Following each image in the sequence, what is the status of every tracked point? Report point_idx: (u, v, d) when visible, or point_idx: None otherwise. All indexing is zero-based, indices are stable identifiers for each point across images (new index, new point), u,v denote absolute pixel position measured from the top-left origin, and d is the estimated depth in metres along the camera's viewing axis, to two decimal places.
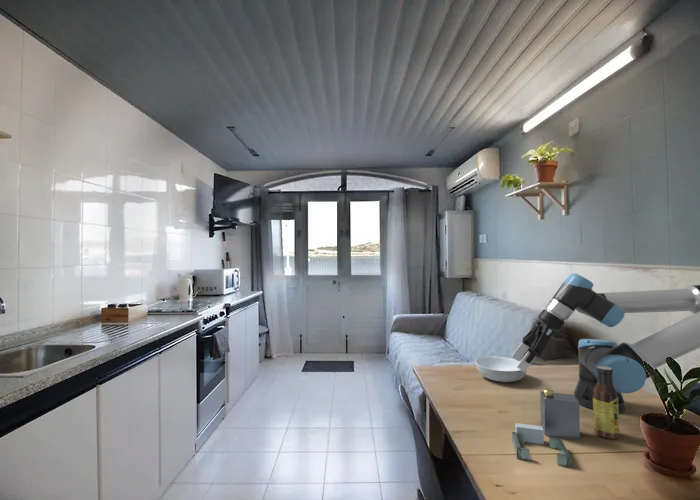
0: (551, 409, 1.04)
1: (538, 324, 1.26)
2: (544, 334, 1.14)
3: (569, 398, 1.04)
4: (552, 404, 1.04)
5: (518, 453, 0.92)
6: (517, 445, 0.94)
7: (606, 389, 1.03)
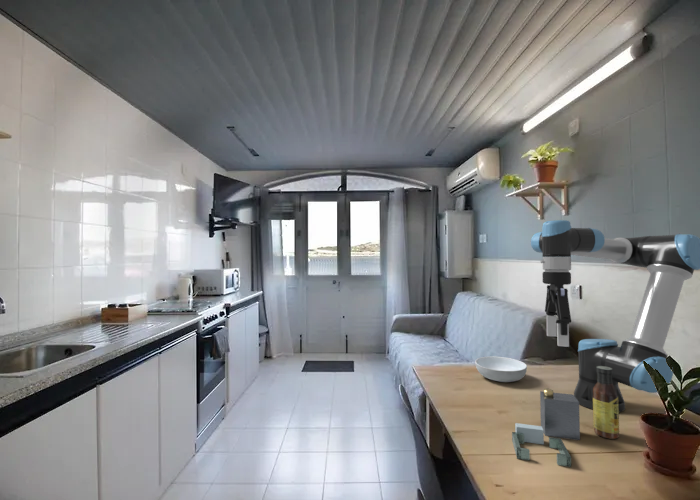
0: (551, 409, 1.04)
1: (548, 288, 1.12)
2: (560, 297, 1.00)
3: (569, 398, 1.04)
4: (552, 404, 1.04)
5: (518, 453, 0.92)
6: (517, 445, 0.94)
7: (606, 389, 1.03)
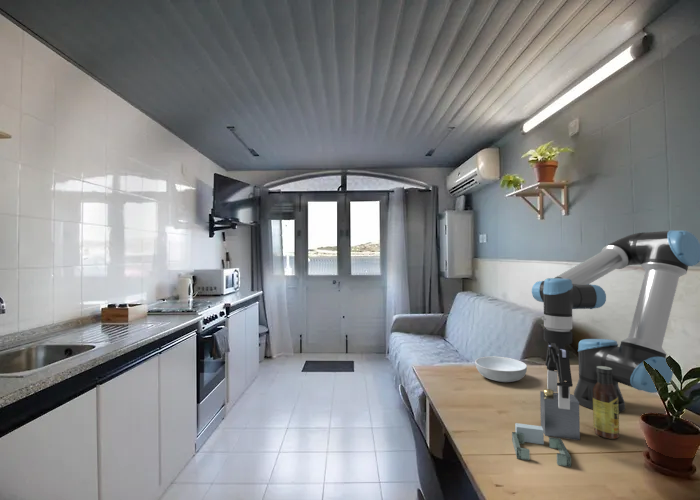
0: (551, 409, 1.04)
1: (549, 344, 1.12)
2: (561, 358, 1.00)
3: None
4: (552, 404, 1.04)
5: (518, 453, 0.92)
6: (517, 445, 0.94)
7: (606, 389, 1.03)
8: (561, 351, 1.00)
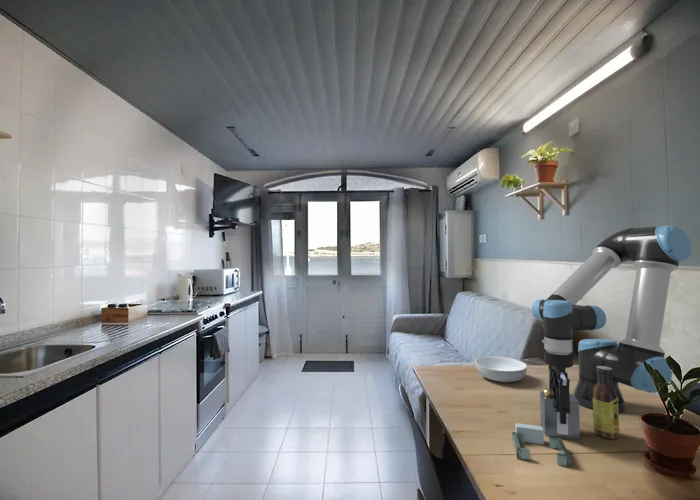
0: (551, 409, 1.04)
1: (550, 368, 1.11)
2: (561, 387, 1.00)
3: None
4: (552, 404, 1.04)
5: (518, 453, 0.92)
6: (517, 445, 0.94)
7: (606, 389, 1.03)
8: (562, 380, 1.00)
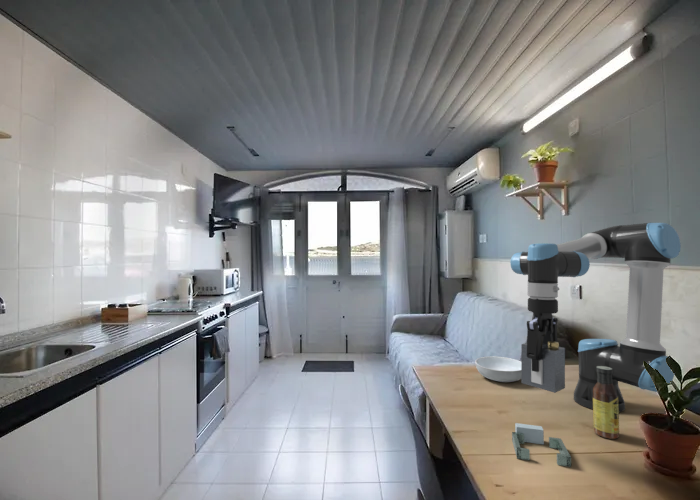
0: None
1: None
2: None
3: None
4: None
5: (518, 453, 0.92)
6: (517, 445, 0.94)
7: (606, 389, 1.03)
8: None
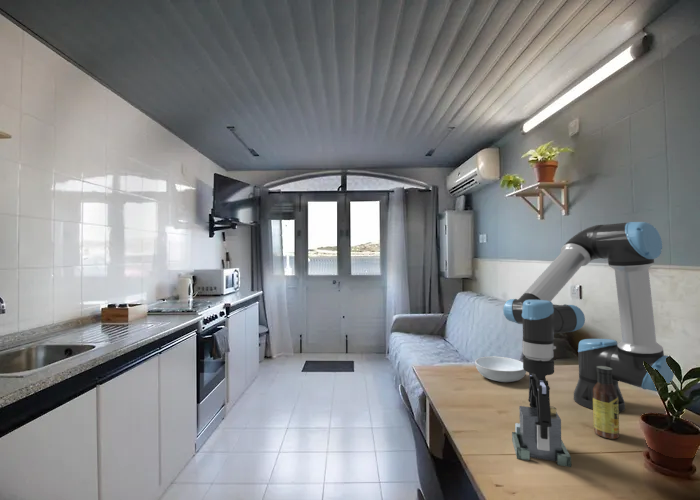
0: None
1: None
2: None
3: (527, 410, 0.97)
4: None
5: (518, 453, 0.92)
6: (517, 445, 0.94)
7: (606, 389, 1.03)
8: None
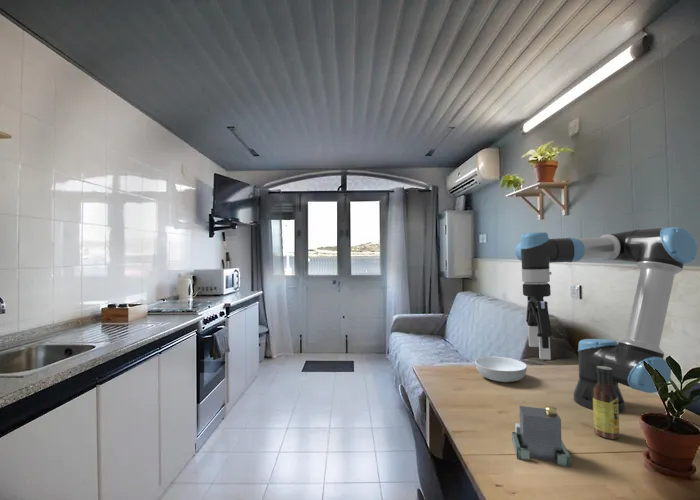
0: None
1: None
2: None
3: (527, 410, 0.97)
4: None
5: (518, 453, 0.92)
6: (517, 445, 0.94)
7: (606, 389, 1.03)
8: None
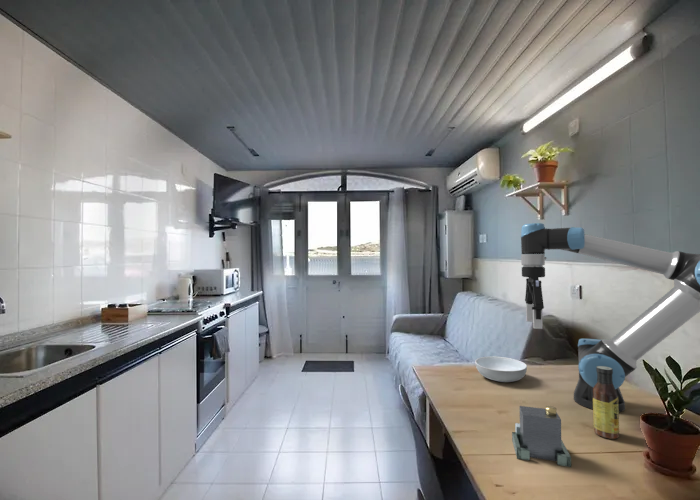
0: None
1: None
2: None
3: (527, 410, 0.97)
4: None
5: (518, 453, 0.92)
6: (517, 445, 0.94)
7: (606, 389, 1.03)
8: None
